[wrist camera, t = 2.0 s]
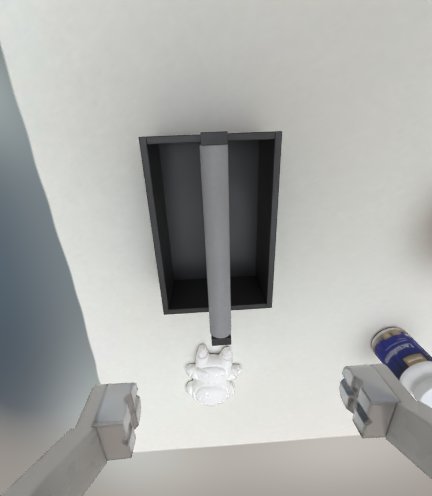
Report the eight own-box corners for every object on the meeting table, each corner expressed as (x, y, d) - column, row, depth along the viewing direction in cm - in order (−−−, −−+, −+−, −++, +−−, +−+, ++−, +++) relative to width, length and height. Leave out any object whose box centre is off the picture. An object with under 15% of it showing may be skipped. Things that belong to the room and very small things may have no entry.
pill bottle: (390, 320, 40) (447, 375, 31) (413, 336, 41) (473, 393, 32) (362, 344, 41) (408, 403, 32) (384, 359, 43) (434, 419, 34)
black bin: (152, 135, 28) (121, 135, 17) (263, 131, 28) (304, 128, 17) (170, 282, 35) (156, 349, 24) (258, 277, 36) (285, 340, 25)
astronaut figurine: (247, 347, 40) (250, 362, 38) (229, 400, 45) (231, 417, 42) (191, 340, 39) (190, 356, 36) (179, 395, 44) (177, 413, 41)
